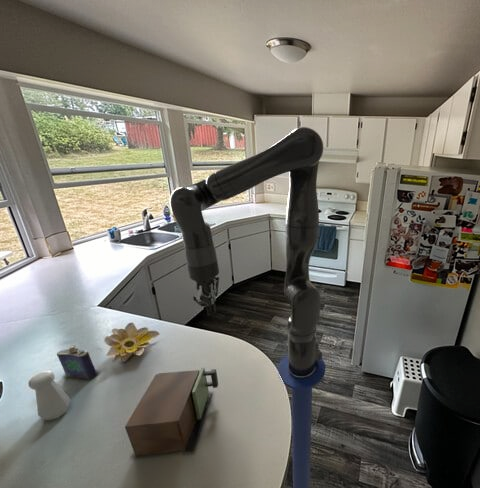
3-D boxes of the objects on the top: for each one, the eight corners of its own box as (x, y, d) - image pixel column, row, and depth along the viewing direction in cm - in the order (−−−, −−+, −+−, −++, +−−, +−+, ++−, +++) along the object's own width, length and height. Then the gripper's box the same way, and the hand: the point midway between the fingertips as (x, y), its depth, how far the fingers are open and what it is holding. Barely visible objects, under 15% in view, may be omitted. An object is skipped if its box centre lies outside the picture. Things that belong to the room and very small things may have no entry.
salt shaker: (45, 428, 63) (25, 390, 58) (38, 415, 65) (18, 379, 61) (75, 409, 67) (59, 373, 63) (68, 398, 70) (52, 363, 66)
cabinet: (211, 393, 73) (206, 368, 69) (193, 450, 59) (187, 421, 56) (163, 398, 71) (156, 372, 68) (134, 457, 57) (123, 428, 54)
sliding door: (220, 392, 73) (216, 366, 69) (213, 418, 66) (208, 390, 62) (206, 393, 72) (201, 367, 69) (197, 419, 65) (191, 392, 62)
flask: (63, 376, 76) (51, 349, 73) (73, 369, 79) (62, 342, 75) (91, 379, 76) (81, 352, 72) (100, 371, 79) (91, 344, 75)
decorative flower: (135, 367, 78) (121, 340, 76) (102, 372, 79) (88, 346, 77) (165, 336, 93) (155, 313, 90) (138, 341, 94) (127, 318, 91)
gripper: (206, 269, 62) (217, 327, 68) (223, 251, 75) (231, 301, 80) (175, 270, 62) (189, 328, 68) (198, 251, 74) (207, 302, 80)
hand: (212, 313), depth 74 cm, fingers closed
